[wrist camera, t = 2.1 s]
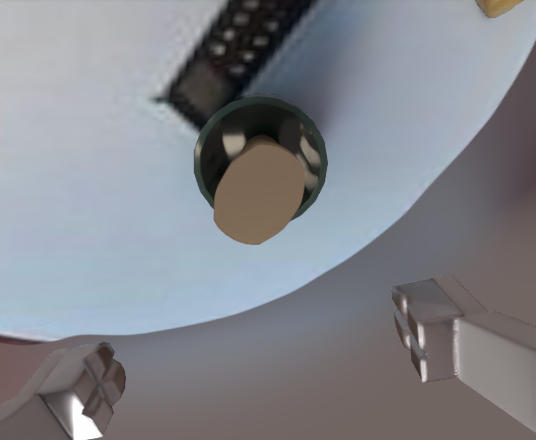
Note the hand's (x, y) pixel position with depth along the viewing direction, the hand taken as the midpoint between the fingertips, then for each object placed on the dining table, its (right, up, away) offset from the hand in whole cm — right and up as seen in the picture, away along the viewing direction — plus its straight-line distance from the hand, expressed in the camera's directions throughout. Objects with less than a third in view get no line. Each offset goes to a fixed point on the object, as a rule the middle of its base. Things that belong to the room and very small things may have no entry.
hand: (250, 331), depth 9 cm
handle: (0, +10, +24) cm, 27 cm away
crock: (0, +11, +25) cm, 27 cm away
